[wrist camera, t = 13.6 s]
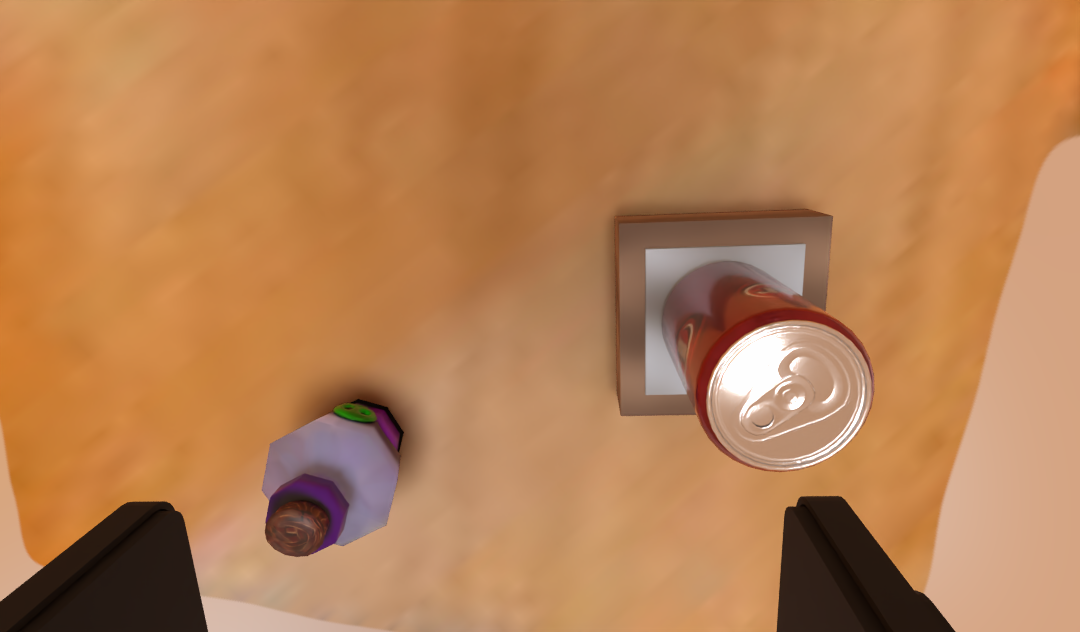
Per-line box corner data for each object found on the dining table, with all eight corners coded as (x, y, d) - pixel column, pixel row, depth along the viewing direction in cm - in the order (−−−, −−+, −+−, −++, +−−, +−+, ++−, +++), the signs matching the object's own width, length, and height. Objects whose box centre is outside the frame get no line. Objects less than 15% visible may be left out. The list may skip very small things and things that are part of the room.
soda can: (741, 233, 36) (821, 275, 24) (808, 332, 37) (915, 417, 25) (635, 306, 37) (663, 379, 25) (703, 399, 38) (759, 509, 27)
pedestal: (614, 216, 40) (619, 224, 36) (807, 209, 39) (834, 216, 35) (616, 391, 43) (621, 417, 39) (795, 388, 42) (819, 414, 38)
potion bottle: (413, 373, 44) (355, 455, 32) (433, 484, 46) (385, 598, 34) (294, 384, 44) (195, 468, 33) (319, 493, 46) (234, 607, 35)
